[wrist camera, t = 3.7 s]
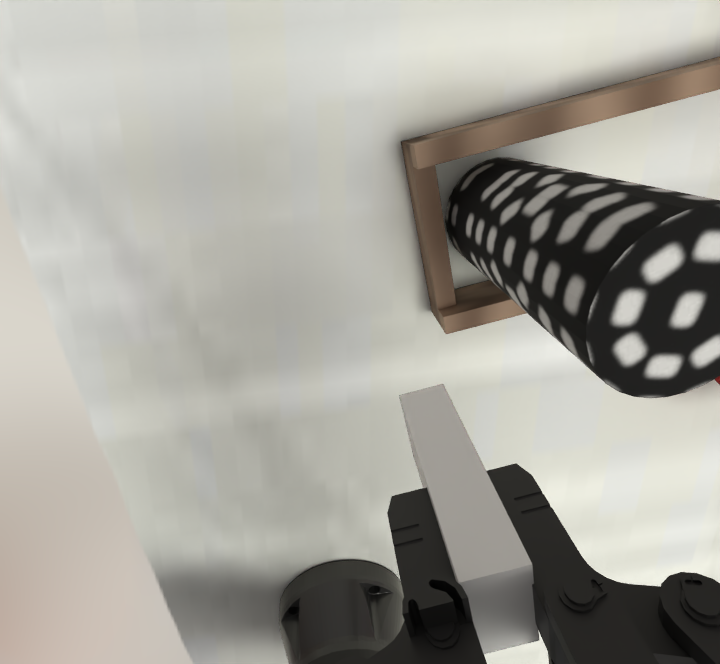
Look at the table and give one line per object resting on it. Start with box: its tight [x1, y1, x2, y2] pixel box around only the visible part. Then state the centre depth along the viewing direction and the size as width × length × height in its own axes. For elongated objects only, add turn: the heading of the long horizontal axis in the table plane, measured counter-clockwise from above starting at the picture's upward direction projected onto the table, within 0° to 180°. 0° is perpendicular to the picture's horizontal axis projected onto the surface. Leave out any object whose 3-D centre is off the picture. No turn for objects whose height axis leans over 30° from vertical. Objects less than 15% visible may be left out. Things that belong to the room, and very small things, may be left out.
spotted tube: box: [446, 158, 720, 398], centre depth 27 cm, size 8×8×20 cm
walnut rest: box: [401, 57, 720, 334], centre depth 34 cm, size 31×14×4 cm, turn 104°
